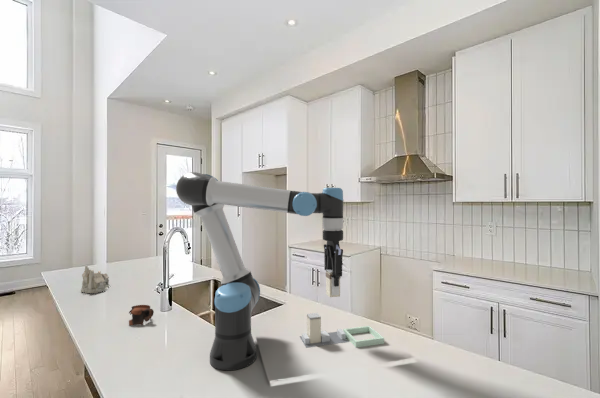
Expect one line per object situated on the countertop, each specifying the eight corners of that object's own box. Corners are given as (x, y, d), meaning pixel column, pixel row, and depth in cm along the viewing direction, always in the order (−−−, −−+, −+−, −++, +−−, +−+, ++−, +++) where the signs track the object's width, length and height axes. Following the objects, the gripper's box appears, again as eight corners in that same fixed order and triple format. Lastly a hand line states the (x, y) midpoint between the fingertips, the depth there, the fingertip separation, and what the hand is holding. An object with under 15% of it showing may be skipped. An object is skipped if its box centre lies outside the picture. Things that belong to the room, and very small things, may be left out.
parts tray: (355, 350, 107) (355, 341, 107) (343, 337, 117) (343, 328, 117) (384, 346, 109) (384, 337, 109) (369, 333, 120) (369, 325, 120)
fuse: (310, 343, 110) (310, 317, 110) (307, 338, 113) (306, 313, 113) (320, 342, 111) (320, 316, 111) (317, 337, 114) (317, 312, 114)
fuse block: (306, 351, 107) (306, 341, 107) (299, 339, 115) (299, 331, 115) (349, 345, 111) (349, 336, 111) (339, 334, 119) (339, 326, 119)
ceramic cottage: (89, 295, 170) (90, 267, 171) (75, 291, 179) (77, 265, 180) (118, 289, 183) (119, 264, 184) (104, 286, 192) (105, 262, 193)
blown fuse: (329, 297, 111) (329, 272, 111) (325, 294, 115) (325, 269, 115) (340, 296, 112) (340, 271, 112) (336, 293, 117) (336, 269, 117)
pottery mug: (121, 327, 129) (124, 306, 133) (138, 329, 137) (141, 309, 141) (145, 322, 126) (147, 301, 130) (161, 324, 134) (163, 304, 138)
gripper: (352, 231, 107) (352, 299, 107) (333, 227, 123) (333, 285, 123) (331, 232, 105) (331, 301, 105) (315, 227, 121) (315, 287, 121)
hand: (332, 292), depth 114 cm, fingers closed on blown fuse, 4 cm apart
